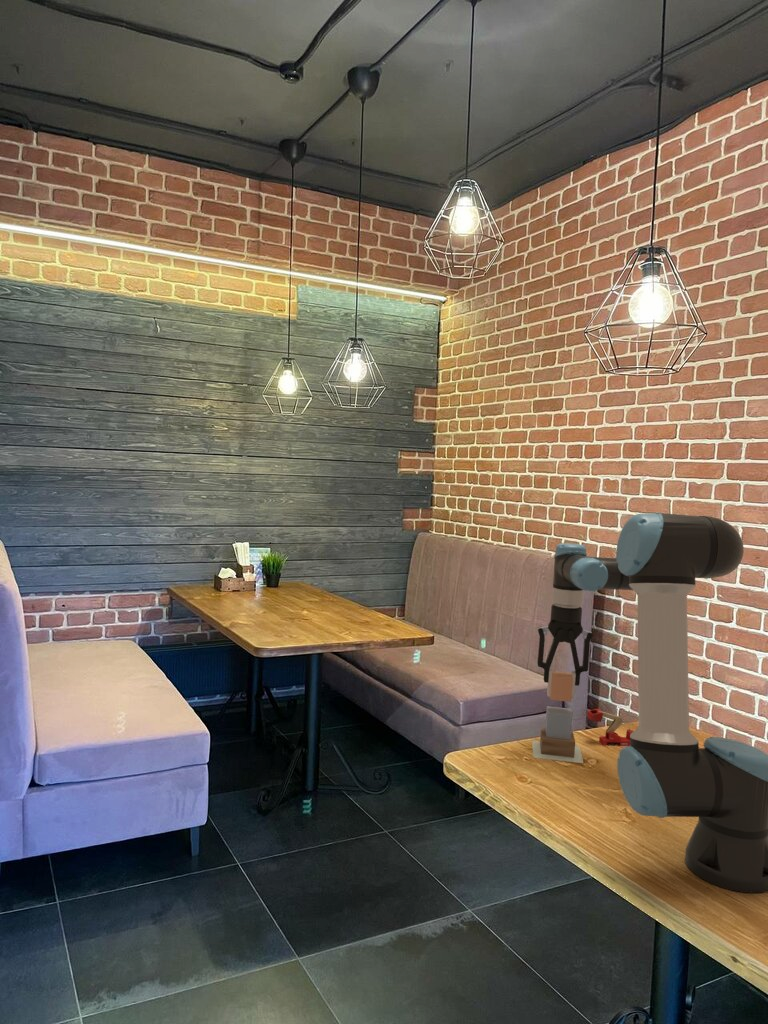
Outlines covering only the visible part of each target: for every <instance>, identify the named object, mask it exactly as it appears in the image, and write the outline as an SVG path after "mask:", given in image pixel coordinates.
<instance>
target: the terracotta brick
mask: <svg viewBox="0 0 768 1024" xmlns="http://www.w3.org/2000/svg"><path fill="white" fill-rule="evenodd" d="M572 682H573V677H572V672H566V671H557V670H556V671H553V670H552V682H551V697H549V698H550V700H551V701H560V702H572V699H571V697H572Z"/></svg>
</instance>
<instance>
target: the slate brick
mask: <svg viewBox="0 0 768 1024" xmlns="http://www.w3.org/2000/svg"><path fill="white" fill-rule="evenodd" d="M545 714H546V715H545V727H544V728H545V732H546V737H550V738H559V739H568V740H571V731H572V728H573V714H572V709H571V708H565V707H557V706H549V705H548V706H546V713H545Z"/></svg>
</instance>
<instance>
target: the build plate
mask: <svg viewBox="0 0 768 1024" xmlns="http://www.w3.org/2000/svg"><path fill="white" fill-rule="evenodd" d="M531 743H532V745H531V746H532V757H533V758H535V759H544V760H551V761H560V762H568V763H576V764H584V759H583V755H582V752H581V748H580V747H581V746H580V745H575V754H574V758H572V757H563V756H554V755H546V754H541V747H540V741H538V740H531Z"/></svg>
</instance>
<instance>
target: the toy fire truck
mask: <svg viewBox="0 0 768 1024" xmlns="http://www.w3.org/2000/svg"><path fill="white" fill-rule="evenodd" d="M586 717H587V718H588V719H589V720H590V722H599V723H601V722H602V720H603V717H604V718H606V719H609V720H612V721H611V723H610V724H609V726H608V727H607V728H606V729H605V736H604V735H603V736H599V740H598V741H599V743H601V745H602V746H607V747H608V746H609V747H610V746H614V747H616V746H617V747H619V746H620V747H627V746H630V734H631V733H633V732H634V731H635V730H632V729H630V728H629V729H626V734H625V737H624V736H621V735H619V734H618V733H617V732H615V731H617V730H618V729H619V728H620V726H622V725H624V722H625V721H624V719H622V718H621V717H620V715H615V714H611V713H608V712H605V711H601V710H600V709H599V708H595V709H590V710H588V711H587V716H586Z"/></svg>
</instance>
